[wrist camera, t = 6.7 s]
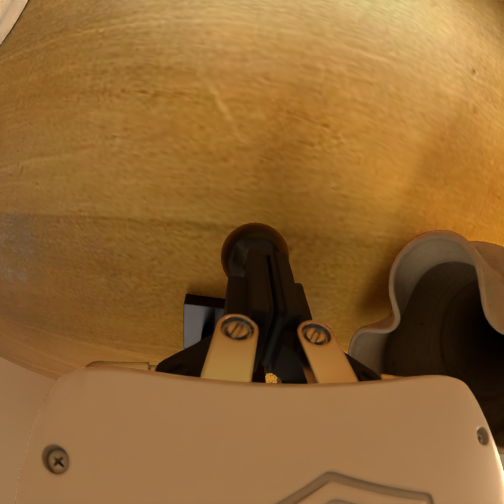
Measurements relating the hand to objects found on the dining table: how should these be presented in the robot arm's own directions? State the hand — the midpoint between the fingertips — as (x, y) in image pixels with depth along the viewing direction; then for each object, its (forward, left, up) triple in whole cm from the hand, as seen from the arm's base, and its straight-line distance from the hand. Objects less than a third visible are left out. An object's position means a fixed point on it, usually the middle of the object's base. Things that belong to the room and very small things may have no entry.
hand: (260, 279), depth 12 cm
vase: (+23, -5, -7) cm, 24 cm away
